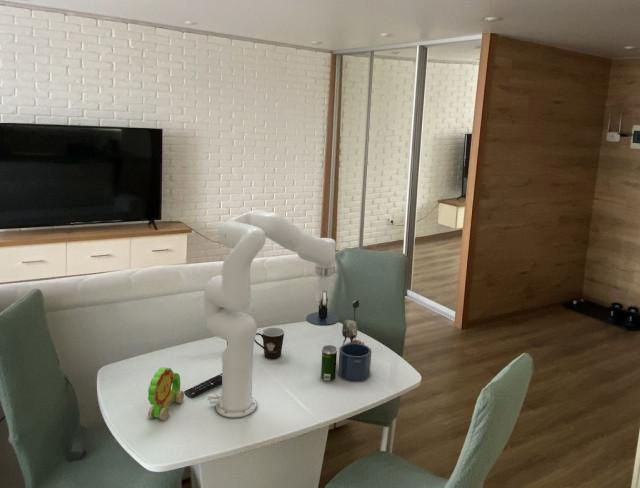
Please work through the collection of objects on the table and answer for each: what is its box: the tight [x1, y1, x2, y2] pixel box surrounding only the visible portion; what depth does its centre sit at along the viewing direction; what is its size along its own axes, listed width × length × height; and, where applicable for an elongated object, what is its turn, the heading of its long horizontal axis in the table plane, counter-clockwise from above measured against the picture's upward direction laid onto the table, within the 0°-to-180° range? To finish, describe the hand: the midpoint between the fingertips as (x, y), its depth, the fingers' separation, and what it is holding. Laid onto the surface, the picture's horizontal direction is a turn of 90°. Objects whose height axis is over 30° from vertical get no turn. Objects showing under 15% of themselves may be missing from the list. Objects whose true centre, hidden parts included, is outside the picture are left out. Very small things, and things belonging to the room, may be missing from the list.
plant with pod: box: [341, 298, 365, 346], centre depth 217 cm, size 8×11×20 cm
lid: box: [305, 311, 340, 327], centre depth 203 cm, size 13×13×7 cm
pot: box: [337, 341, 372, 383], centre depth 195 cm, size 12×17×10 cm
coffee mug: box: [254, 327, 285, 361], centre depth 207 cm, size 12×9×10 cm
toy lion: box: [147, 366, 185, 421], centre depth 164 cm, size 16×6×15 cm, turn 170°
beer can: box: [320, 344, 338, 384], centre depth 190 cm, size 5×5×12 cm
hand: (322, 315), depth 203 cm, fingers closed on lid, 2 cm apart
